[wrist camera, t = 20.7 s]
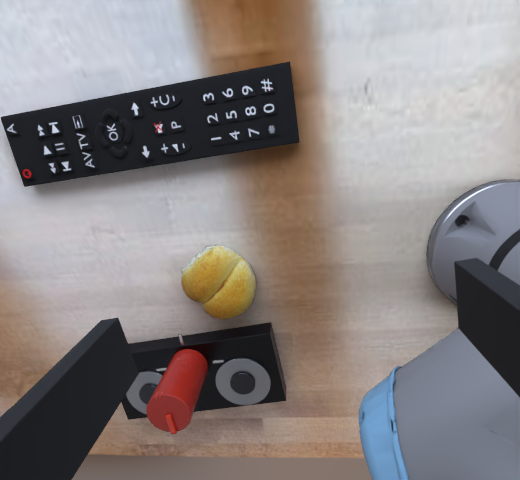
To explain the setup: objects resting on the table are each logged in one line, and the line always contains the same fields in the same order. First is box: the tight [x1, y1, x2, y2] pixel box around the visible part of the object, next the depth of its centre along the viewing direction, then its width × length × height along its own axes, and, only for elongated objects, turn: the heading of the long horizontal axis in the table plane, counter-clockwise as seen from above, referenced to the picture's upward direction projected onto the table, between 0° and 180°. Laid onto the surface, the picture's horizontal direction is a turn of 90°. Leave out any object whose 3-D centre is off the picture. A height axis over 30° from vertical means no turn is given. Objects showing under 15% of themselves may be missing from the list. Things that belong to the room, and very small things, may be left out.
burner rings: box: [126, 357, 271, 414], centre depth 44 cm, size 19×7×1 cm, turn 102°
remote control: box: [1, 62, 299, 187], centre depth 37 cm, size 8×32×2 cm, turn 99°
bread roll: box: [182, 245, 256, 319], centre depth 40 cm, size 8×9×4 cm
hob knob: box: [146, 349, 208, 434], centre depth 39 cm, size 5×5×8 cm
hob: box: [121, 323, 286, 419], centre depth 45 cm, size 22×12×3 cm, turn 102°
